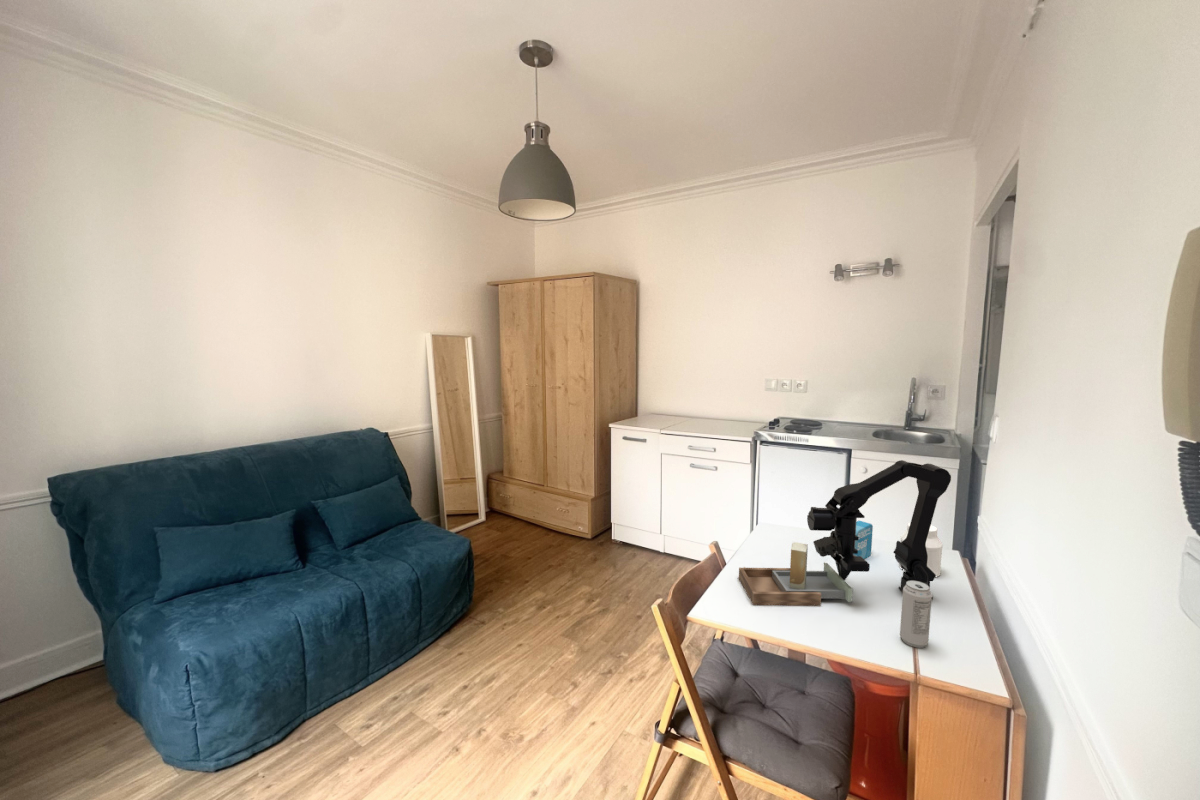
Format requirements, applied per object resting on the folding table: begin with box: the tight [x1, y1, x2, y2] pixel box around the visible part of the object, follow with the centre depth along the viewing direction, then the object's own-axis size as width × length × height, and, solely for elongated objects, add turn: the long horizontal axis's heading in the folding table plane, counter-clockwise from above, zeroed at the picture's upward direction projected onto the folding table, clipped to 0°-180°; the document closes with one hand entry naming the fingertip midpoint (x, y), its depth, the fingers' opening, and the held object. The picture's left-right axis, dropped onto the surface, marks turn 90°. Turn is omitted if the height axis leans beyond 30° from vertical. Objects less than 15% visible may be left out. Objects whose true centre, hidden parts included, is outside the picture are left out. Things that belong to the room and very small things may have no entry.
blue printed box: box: [854, 520, 874, 560], centre depth 169 cm, size 12×4×12 cm, turn 128°
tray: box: [772, 562, 853, 603], centre depth 147 cm, size 18×16×4 cm
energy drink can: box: [899, 581, 933, 649], centre depth 121 cm, size 6×6×15 cm
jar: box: [898, 521, 944, 578], centre depth 160 cm, size 12×10×15 cm
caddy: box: [738, 567, 822, 607], centre depth 147 cm, size 19×16×4 cm
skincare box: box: [789, 541, 809, 590], centre depth 146 cm, size 6×4×12 cm
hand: (842, 580), depth 146 cm, fingers closed, pressing on tray
